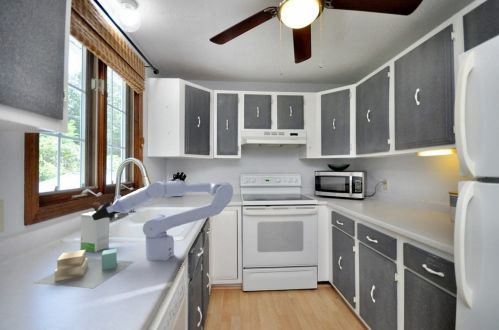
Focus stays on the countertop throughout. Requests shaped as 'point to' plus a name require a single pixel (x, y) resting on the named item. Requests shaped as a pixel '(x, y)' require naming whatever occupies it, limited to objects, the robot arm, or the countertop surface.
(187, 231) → the countertop surface
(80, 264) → the maple slab upper
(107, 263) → the sage block
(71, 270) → the maple slab lower
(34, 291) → the countertop surface
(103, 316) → the countertop surface
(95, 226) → the skincare box
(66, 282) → the grey board
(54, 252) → the countertop surface
